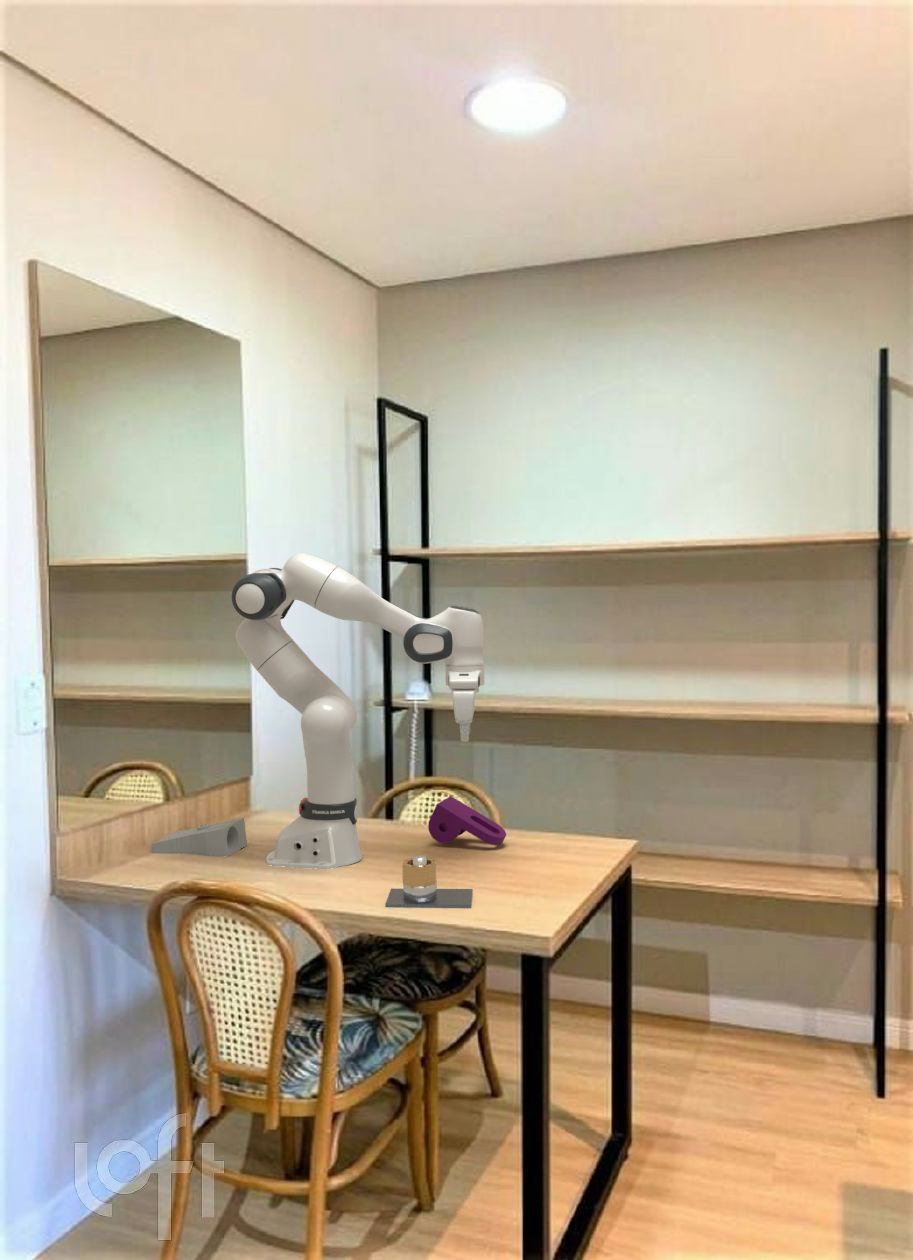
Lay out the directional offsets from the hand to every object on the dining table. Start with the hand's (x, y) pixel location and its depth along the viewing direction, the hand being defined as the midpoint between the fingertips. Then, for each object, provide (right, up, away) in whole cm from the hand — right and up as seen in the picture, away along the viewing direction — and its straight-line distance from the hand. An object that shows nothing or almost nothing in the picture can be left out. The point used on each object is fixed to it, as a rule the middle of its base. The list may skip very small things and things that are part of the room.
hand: (465, 737), depth 223 cm
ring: (-10, -27, -25) cm, 37 cm away
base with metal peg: (-7, -30, -25) cm, 40 cm away
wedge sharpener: (-65, -30, +18) cm, 74 cm away
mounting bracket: (+8, -30, +19) cm, 36 cm away
